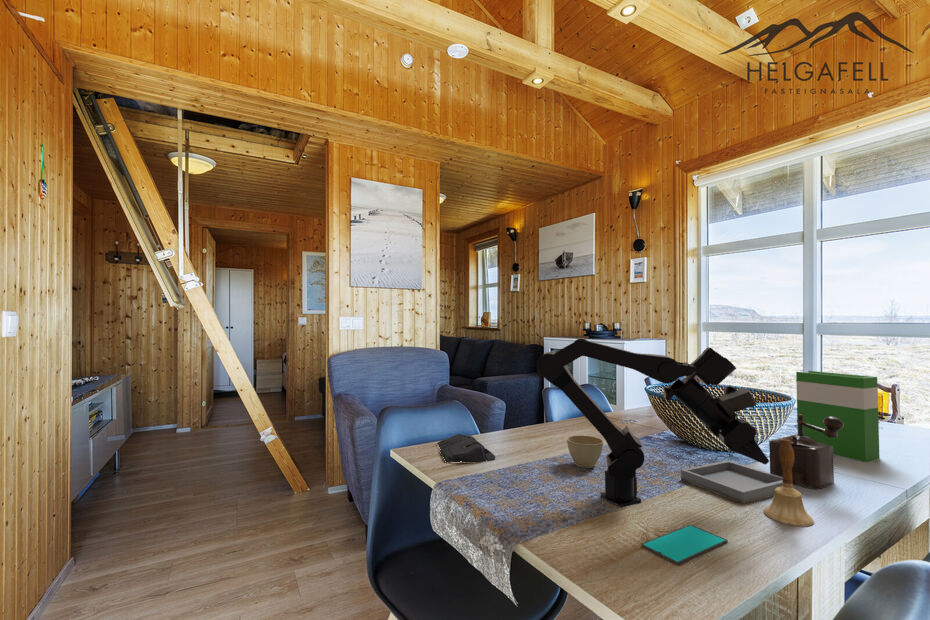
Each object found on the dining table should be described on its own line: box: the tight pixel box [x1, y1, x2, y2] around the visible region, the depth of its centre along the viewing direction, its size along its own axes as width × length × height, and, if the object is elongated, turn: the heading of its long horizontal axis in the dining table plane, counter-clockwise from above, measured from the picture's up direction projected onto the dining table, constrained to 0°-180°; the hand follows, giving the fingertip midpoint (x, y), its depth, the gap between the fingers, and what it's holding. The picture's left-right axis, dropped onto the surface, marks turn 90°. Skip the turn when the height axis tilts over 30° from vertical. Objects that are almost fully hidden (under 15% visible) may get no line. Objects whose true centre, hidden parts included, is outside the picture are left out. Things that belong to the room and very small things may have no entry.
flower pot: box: [566, 434, 604, 469], centre depth 122 cm, size 10×10×7 cm
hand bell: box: [763, 439, 815, 528], centre depth 89 cm, size 8×8×16 cm
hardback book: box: [795, 370, 881, 463], centre depth 134 cm, size 18×7×24 cm, turn 23°
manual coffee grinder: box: [768, 414, 844, 490], centre depth 108 cm, size 16×11×18 cm
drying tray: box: [680, 460, 783, 505], centre depth 107 cm, size 18×16×2 cm
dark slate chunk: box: [436, 433, 496, 463], centre depth 134 cm, size 15×22×5 cm
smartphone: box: [641, 524, 729, 567], centre depth 78 cm, size 7×1×15 cm
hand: (758, 455), depth 91 cm, fingers open, 9 cm apart
